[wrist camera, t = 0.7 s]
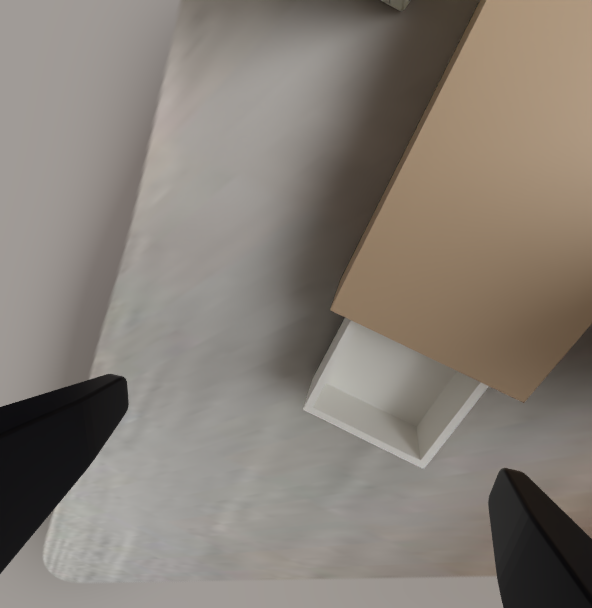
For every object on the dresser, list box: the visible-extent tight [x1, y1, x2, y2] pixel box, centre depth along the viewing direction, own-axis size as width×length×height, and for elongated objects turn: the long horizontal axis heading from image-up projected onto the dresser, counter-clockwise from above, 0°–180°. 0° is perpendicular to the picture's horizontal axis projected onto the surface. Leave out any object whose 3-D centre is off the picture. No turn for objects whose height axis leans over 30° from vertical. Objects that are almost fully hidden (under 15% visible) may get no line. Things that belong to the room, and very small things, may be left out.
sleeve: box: [330, 0, 592, 403], centre depth 15 cm, size 9×16×4 cm, turn 157°
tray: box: [303, 318, 489, 469], centre depth 17 cm, size 7×16×3 cm, turn 157°
